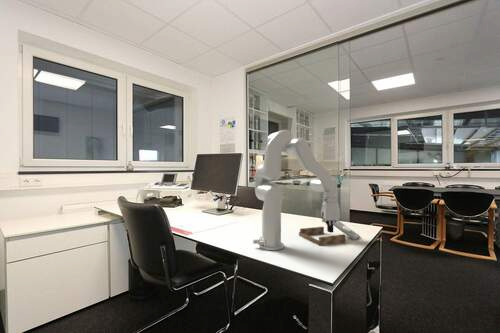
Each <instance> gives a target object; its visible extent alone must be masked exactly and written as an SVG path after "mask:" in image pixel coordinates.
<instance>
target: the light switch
mask: <svg viewBox="0 0 500 333" xmlns="http://www.w3.org/2000/svg"><path fill="white" fill-rule="evenodd" d="M333 227H335V228H336V229H338V230H339V231H340V232H342V233H343V234H344V235H345V236H347V237H349V238H350V239H351V240H353V241H357V240H358V239H359V238H361V236H360V234H359V233H357V232H355V231H354V230H352V229H351V228H350V227H349V226H347V225H345V224H344V223H343V222H341V221H340V220H339V221H337V222H335V224H334V225H333Z"/></svg>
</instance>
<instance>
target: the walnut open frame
mask: <svg viewBox="0 0 500 333" xmlns="http://www.w3.org/2000/svg"><path fill="white" fill-rule="evenodd" d="M324 233H325V227H324V226H316V227H315V226H313V227H303V228H302V227H301V228H299V232H298V236H299V237H301V238H303V239H304V240H307V241H308V242H311V243H313V244H315V245H317V246H327V245H335V244H343V243H344V244H345V243H346V234H345V233H343V234H334V235H325V236H319V237H318V239H317V238H314V237H313V235H314V236H315V235H323V234H324Z"/></svg>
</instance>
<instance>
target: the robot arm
mask: <svg viewBox="0 0 500 333" xmlns="http://www.w3.org/2000/svg"><path fill="white" fill-rule="evenodd" d="M282 153H285V154H291V155H292V154H294V155H295V156H296V158H297V161H298V163H299V164H300V166H301V167H302V169H304V170H305V171H307V172H309V173H312V174H313V175H314V176H315V177H316V178H313V179H311V181H310V182H309V188H310V189H311V190H312V191H314V192H317V193H318V192H320V193H323V198H321V200H322V201H323V202H322V204H321V212H320V213H321V214H320V216H321V222H323V223H325V225H327V226H326V228H327V230H326V231H327V233H330V234H331V233H334V224H335V222H337V221H340V219H341V209H340V208H341V207H340V204H339V203H340V202H338V180H337V179H336V178H332V176H331V174H330V172H329V171H328V170H327V168H326V167H324V166H323V165H322V164H321V163H320V162H319V161H318V160H317V159H316V157H315V155H314V153H313V151H312V149H311V148H310V146H309V143H308V142H307V140H306V139H305V138H304V137H295V138H293V133H292V131H291V130H289V129H281V130H278V131H276V132H272V133H270V134H269V135H268V137H267V145H266V146H265V150H264V160H263V163H260V164H259V165H257V168H256V171H255V173H254V174H255V176H254V177H255V179H254V180H255V181H254V192H255V196H256V198H257V199H258V200H260V201H262V202H263V206H262V210H261V211H262V212H261V221H262V222H261V230H262V231H261V236H260V238H258V239H253V240H252V244H254V245H258V247H259V248H260V249H262V250H265V251H279V250H282V249H284V248H285V243H284V242H282V203H283V202H282V201H283V196H284V195H283V194H284V193H283V190H282V188H281V187H280V185H278V184H275V183H272V182H277V181H278V180H279V179H281V178H280V177H281V173H282V170H281V168H282V164H281V163H282Z"/></svg>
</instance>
